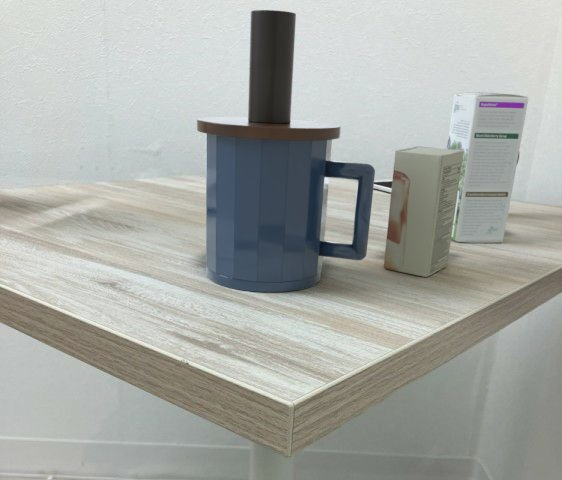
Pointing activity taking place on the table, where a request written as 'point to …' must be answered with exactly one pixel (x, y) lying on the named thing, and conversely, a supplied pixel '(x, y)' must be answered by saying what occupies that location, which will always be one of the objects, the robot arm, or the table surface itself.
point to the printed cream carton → (422, 209)
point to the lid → (270, 87)
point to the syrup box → (485, 161)
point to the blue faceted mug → (276, 212)
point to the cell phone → (383, 185)
